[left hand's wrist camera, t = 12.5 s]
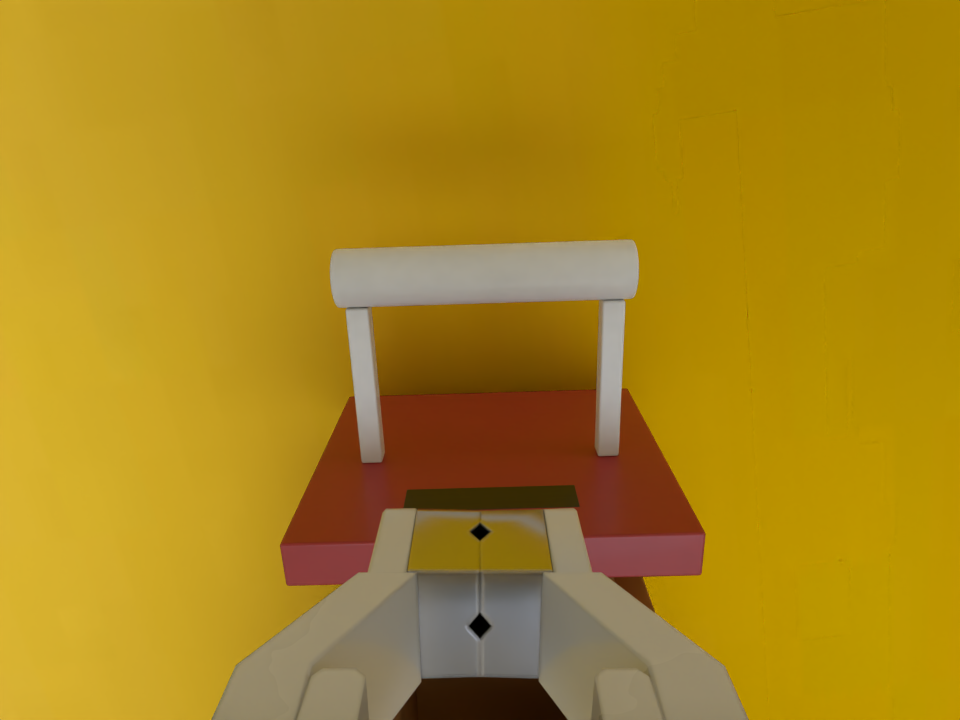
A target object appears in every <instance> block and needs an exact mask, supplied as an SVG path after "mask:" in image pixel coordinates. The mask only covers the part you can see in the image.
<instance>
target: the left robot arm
mask: <svg viewBox="0 0 960 720" xmlns="http://www.w3.org/2000/svg"><path fill="white" fill-rule="evenodd" d="M459 677H500V678H535V679H539V682H540V684H541V685H542V686H543V688H544V689H545V690H546V692H547V693H548V694H549V696H550V697H551V698H552V700H553V701H554V702H555V704H556V705H557V706H558V708H559V709H560V710H561V711H562V713H563V714H564V715H565V717H566V718H567V719H568V720H749V719H748V717H747V715H746V713H745V710H744V708H743V706H742V704H741V702H740V699H739V697H738V695H737V693H736V690H735V688H734V686H733V684H732V681H731V679H730V677H729V675H728V672H727V670H726V668H725V666H724V665H722V664H721V663H720V662H719V661H717V660H716V659H715V658H713V657H712V656H711V655H709V654H708V653H707V652H705V651H704V650H703V649H701V648H700V647H699V646H698V645H696V644H695V643H694V642H692V641H691V640H690V639H688V638H687V637H686V636H684V635H683V634H682V633H680V632H679V631H678V630H677V629H675V628H674V627H673V626H671V625H670V624H669V623H667V622H666V621H665V620H663V619H662V618H661V617H659V616H658V615H657V614H656V613H654V612H653V611H652V610H650V609H649V608H648V607H646V606H645V605H644V604H642V603H641V602H640V601H638V600H637V599H636V598H635V597H633V596H632V595H631V594H629V593H628V592H627V591H625V590H624V589H623V588H621V587H620V586H619V585H617V584H616V583H615V582H614V581H612V580H611V579H610V578H608V577H607V576H606V575H604V574H603V573H601V572H592V569H591V565H590V561H589V557H588V553H587V549H586V545H585V541H584V537H583V533H582V529H581V525H580V521H579V518H578V514H577V511H576V510H575V509H574V508H558V509H534V510H494V511H480V510H465V509H418V510H417V509H416V508H389V509H385V510H384V512H383V513H382V517H381V521H380V525H379V529H378V533H377V537H376V541H375V545H374V549H373V553H372V557H371V561H370V565H369V569H368V572H359V573H357V574H356V575H354V576H353V577H352V578H350V579H349V580H348V581H346V582H345V583H344V584H342V585H341V586H340V587H339V588H337V589H336V590H335V591H333V592H332V593H331V594H329V595H328V596H327V597H325V598H324V599H323V600H321V601H320V602H319V603H317V604H316V605H315V606H313V607H312V608H311V609H310V610H308V611H307V612H306V613H304V614H303V615H302V616H300V617H299V618H298V619H296V620H295V621H294V622H292V623H291V624H290V625H288V626H287V627H286V628H284V629H283V630H282V631H281V632H279V633H278V634H277V635H275V636H274V637H273V638H271V639H270V640H269V641H267V642H266V643H265V644H263V645H262V646H261V647H259V648H258V649H257V650H255V651H254V652H253V653H251V654H250V655H249V656H248V657H246V658H245V659H244V660H242V661H241V662H240V663H238V664H237V665H236V666H235V669H234V671H233V673H232V675H231V677H230V680H229V682H228V684H227V686H226V689H225V691H224V693H223V695H222V697H221V700H220V702H219V704H218V706H217V708H216V711H215V713H214V715H213V717H212V720H393V719H394V717H395V716H396V715H397V713H398V712H399V711H400V709H401V708H402V707H403V705H404V704H405V703H406V702H407V700H408V699H409V698H410V696H411V695H412V694H413V692H414V691H415V690H416V688H417V687H418V686H419V684H420V683H421V679H425V678H459Z"/></svg>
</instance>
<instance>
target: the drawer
mask: <svg viewBox="0 0 960 720" xmlns="http://www.w3.org/2000/svg"><path fill="white" fill-rule="evenodd" d="M638 279H639V259H638V252H637V247H636V244H635V242H634V241H633V240H601V241H570V242H539V243H508V244H477V245H446V246H414V247H383V248H352V249H335V250H334V251H333V253H332V256H331V262H330V283H331V291H332V296H333V299H334V302H335V304H336V306H337V307H339V308H347V309H346V320H347V329H348V339H349V348H350V358H351V367H352V376H353V386H354V395H355V397H349V399H348V401H347V404H346V406H345V408H344V410H343V412H342V414H341V416H340V418H339V421H338V423H337V425H336V427H335V429H334V431H333V433H332V435H331V438H330V440H329V442H328V444H327V446H326V448H325V450H324V452H323V455H322V457H321V459H320V461H319V463H318V465H317V467H316V469H315V472H314V474H313V476H312V478H311V480H310V482H309V484H308V487H307V489H306V491H305V493H304V495H303V497H302V499H301V501H300V504H299V506H298V508H297V510H296V512H295V514H294V516H293V518H292V521H291V523H290V525H289V527H288V529H287V531H286V533H285V535H284V538H283V540H282V542H281V544H280V548H281V554H282V560H283V566H284V572H285V579H286V584H287V585H288V586H297V585H336V584H344V583H345V582H346V581H348V580H349V579H350V578H352V577H353V576H354V575H356V574H357V573H359V572H368V569H369V565H370V561H371V557H372V553H373V549H374V545H375V541H376V537H377V533H378V529H379V525H380V521H381V517H382V513H383V512H384V510H385V509H389V508H416V509H417V510H418V509H465V510H480V511H494V510H534V509H558V508H574V509H575V510H576V511H577V514H578V518H579V521H580V525H581V529H582V533H583V537H584V541H585V545H586V549H587V553H588V557H589V561H590V565H591V569H592V572H601V573H603V574H604V575H606V576H607V577H608V578H610V579H611V580H612V581H614V582H615V583H616V584H617V585H619V586H620V587H621V588H623V589H624V590H625V591H627V592H628V593H629V594H631V595H632V596H633V597H635V598H636V599H637V600H638V601H640V602H641V603H642V604H644V605H645V606H646V607H648V608H649V609H650V610H652V611H653V612H654V613H655V611H654V608H653V605H652V602H651V600H650V597H649V594H648V591H647V588H646V585H645V583H644V580H643V577H648V576H687V575H701V573H702V563H703V553H704V543H705V532H704V530H703V528H702V526H701V524H700V523H699V521H698V519H697V517H696V515H695V513H694V511H693V510H692V508H691V506H690V504H689V502H688V500H687V498H686V497H685V495H684V493H683V491H682V489H681V487H680V485H679V484H678V482H677V480H676V478H675V476H674V474H673V473H672V471H671V469H670V467H669V465H668V463H667V461H666V460H665V458H664V456H663V454H662V452H661V450H660V448H659V447H658V445H657V443H656V441H655V439H654V437H653V435H652V434H651V432H650V430H649V428H648V426H647V424H646V422H645V421H644V419H643V417H642V415H641V413H640V411H639V409H638V408H637V406H636V404H635V402H634V400H633V398H632V396H631V395H630V393H629V391H628V389H622V368H623V346H624V324H625V301H624V299H632V298H633V297H634V296H635V294H636V291H637V287H638ZM575 300H599V324H598V356H597V389H596V390H566V391H531V392H497V393H463V394H429V395H395V396H380V394H379V383H378V373H377V362H376V351H375V340H374V329H373V318H372V307H381V306H413V305H446V304H478V303H510V302H543V301H575ZM393 720H568V719H567V718H566V717H565V715H564V714H563V713H562V711H561V710H560V709H559V708H558V706H557V705H556V704H555V702H554V701H553V700H552V698H551V697H550V696H549V694H548V693H547V692H546V690H545V689H544V688H543V686H542V685H541V684H540V682H539V679H535V678H500V677H459V678H425V679H421V683H420V684H419V686H418V687H417V688H416V690H415V691H414V692H413V694H412V695H411V696H410V698H409V699H408V700H407V702H406V703H405V704H404V705H403V707H402V708H401V709H400V711H399V712H398V713H397V715H396V716H395V717H394V719H393Z"/></svg>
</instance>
